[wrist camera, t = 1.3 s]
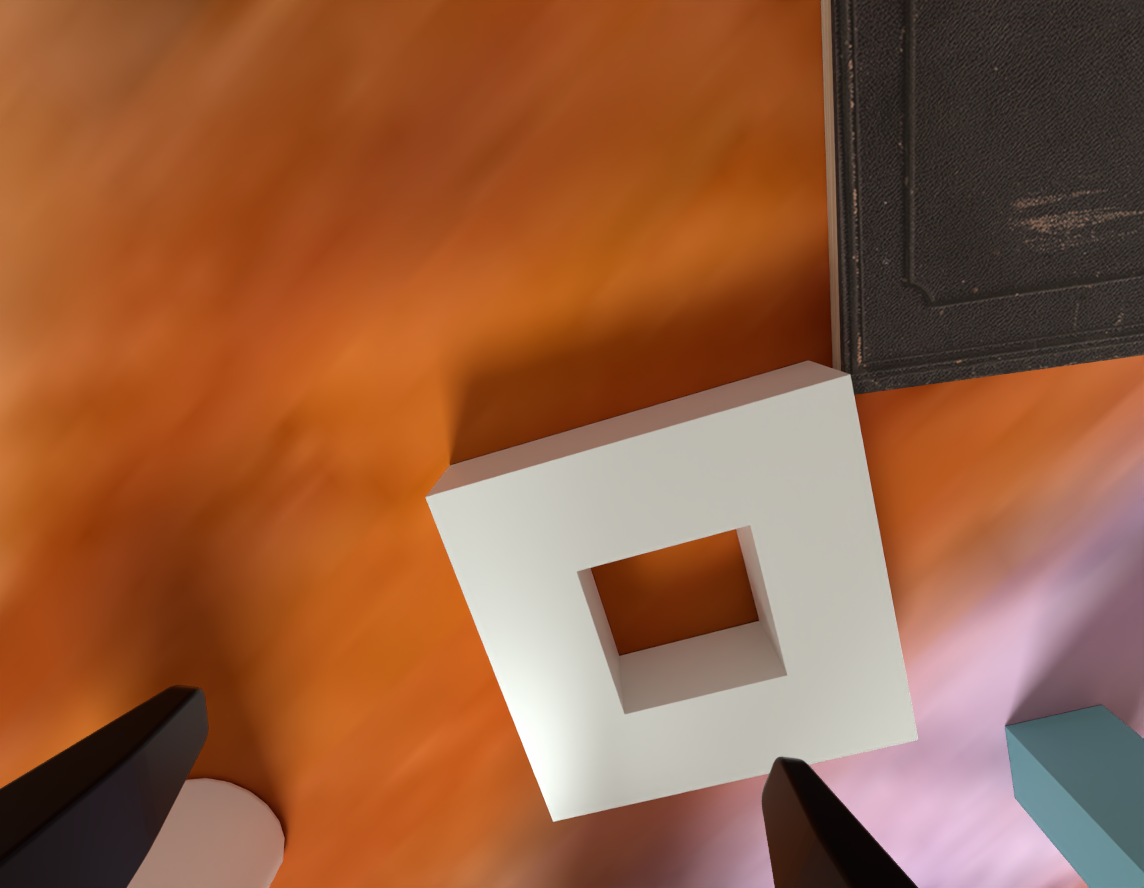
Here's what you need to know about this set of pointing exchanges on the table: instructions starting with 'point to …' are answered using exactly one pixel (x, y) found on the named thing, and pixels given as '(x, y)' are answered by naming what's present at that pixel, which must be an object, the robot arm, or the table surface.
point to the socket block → (666, 518)
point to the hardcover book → (983, 186)
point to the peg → (1084, 791)
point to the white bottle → (214, 841)
